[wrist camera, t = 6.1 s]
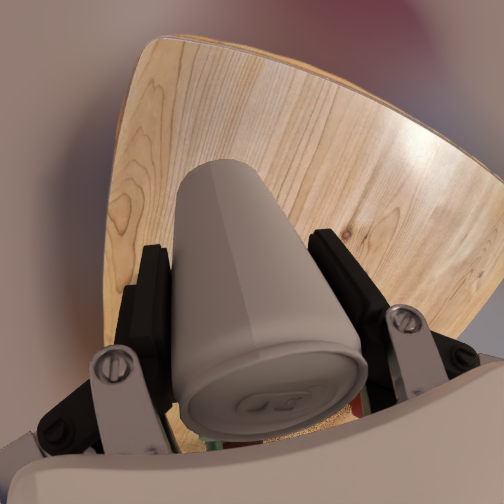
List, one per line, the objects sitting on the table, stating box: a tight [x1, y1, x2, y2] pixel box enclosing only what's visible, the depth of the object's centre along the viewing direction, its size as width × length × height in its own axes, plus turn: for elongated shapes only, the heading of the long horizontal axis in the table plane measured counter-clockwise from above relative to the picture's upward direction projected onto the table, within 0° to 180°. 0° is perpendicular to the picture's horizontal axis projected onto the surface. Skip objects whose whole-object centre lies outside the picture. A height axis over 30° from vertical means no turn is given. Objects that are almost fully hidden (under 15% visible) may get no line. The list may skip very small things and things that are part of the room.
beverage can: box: [171, 159, 368, 442], centre depth 11 cm, size 5×5×12 cm
